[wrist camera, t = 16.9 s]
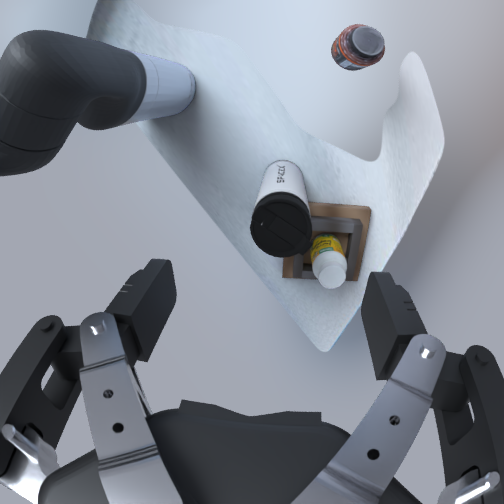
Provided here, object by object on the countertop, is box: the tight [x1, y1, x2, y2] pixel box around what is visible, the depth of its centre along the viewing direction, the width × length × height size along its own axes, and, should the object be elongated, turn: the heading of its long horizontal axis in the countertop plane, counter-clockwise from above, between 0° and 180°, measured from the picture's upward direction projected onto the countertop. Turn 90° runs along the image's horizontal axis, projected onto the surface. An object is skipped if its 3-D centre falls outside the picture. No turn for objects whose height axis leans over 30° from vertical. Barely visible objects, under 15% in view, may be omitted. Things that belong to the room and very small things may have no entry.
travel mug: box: [250, 160, 313, 258], centre depth 37 cm, size 6×7×20 cm
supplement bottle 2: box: [331, 24, 385, 70], centre depth 29 cm, size 6×6×11 cm
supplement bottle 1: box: [310, 233, 347, 289], centre depth 44 cm, size 5×5×10 cm
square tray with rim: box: [282, 202, 371, 281], centre depth 48 cm, size 14×14×4 cm
